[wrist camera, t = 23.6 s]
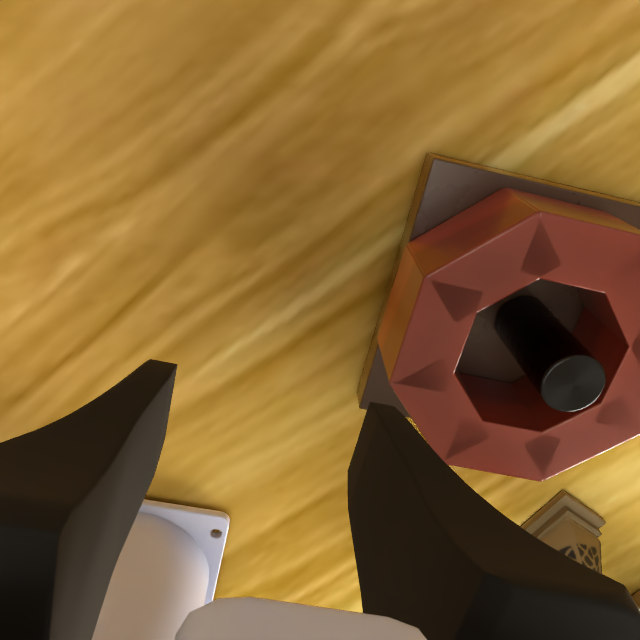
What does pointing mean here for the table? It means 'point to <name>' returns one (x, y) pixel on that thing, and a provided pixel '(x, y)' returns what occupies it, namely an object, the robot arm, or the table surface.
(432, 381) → the ring
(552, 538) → the eiffel tower
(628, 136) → the table surface
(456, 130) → the table surface
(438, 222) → the post
